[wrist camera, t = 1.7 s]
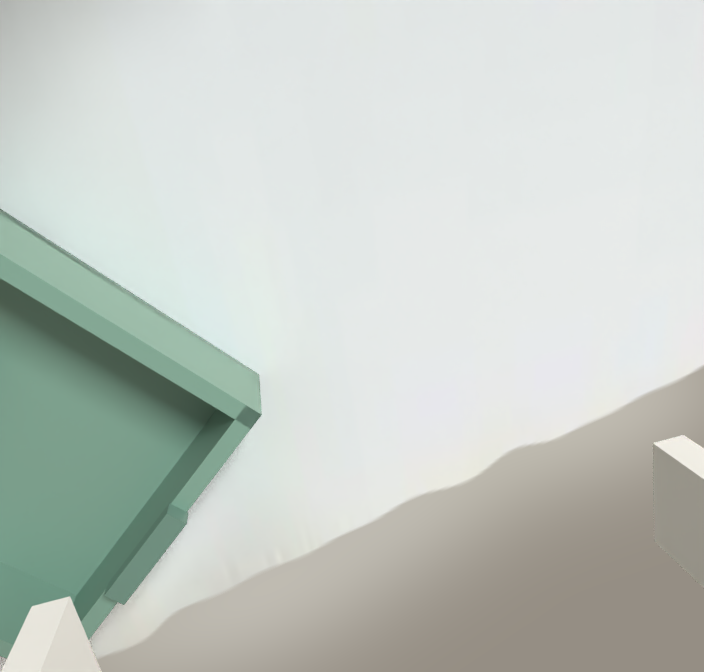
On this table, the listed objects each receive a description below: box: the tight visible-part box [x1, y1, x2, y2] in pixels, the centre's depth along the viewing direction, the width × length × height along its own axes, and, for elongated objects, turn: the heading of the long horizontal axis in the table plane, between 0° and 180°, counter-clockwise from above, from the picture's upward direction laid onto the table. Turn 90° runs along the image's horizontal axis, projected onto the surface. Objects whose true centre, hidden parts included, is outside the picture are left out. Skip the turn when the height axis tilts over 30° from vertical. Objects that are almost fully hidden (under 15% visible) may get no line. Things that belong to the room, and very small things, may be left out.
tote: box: [0, 209, 262, 658], centre depth 32 cm, size 20×20×7 cm
